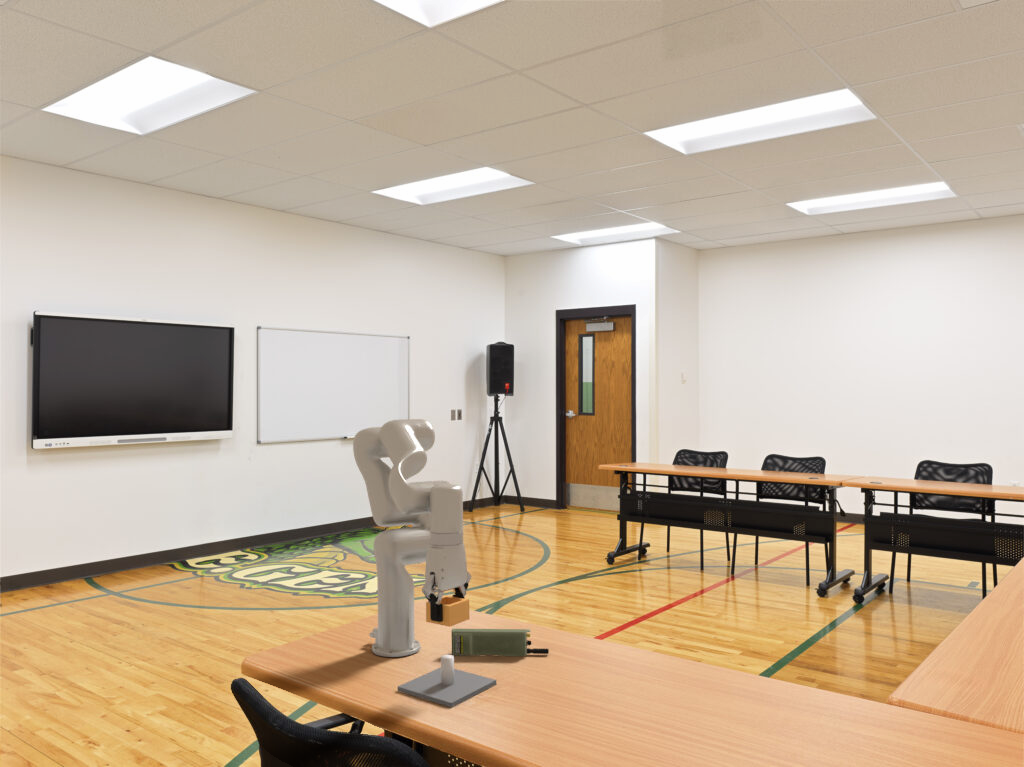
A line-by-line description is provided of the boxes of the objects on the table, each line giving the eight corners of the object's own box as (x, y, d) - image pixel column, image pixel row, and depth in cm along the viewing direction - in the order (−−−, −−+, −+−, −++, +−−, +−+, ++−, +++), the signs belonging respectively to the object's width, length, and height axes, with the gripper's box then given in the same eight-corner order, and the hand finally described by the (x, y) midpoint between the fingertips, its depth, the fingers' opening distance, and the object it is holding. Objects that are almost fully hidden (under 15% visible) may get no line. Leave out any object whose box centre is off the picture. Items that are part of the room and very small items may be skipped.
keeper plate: (397, 691, 176) (397, 660, 176) (443, 669, 189) (443, 641, 189) (451, 707, 167) (451, 675, 167) (496, 684, 180) (496, 654, 180)
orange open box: (426, 621, 177) (426, 601, 177) (446, 614, 182) (446, 595, 183) (449, 626, 173) (449, 606, 173) (469, 619, 178) (469, 599, 178)
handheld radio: (453, 652, 202) (548, 653, 201) (451, 657, 199) (548, 658, 198) (452, 627, 202) (548, 628, 201) (450, 631, 199) (548, 632, 197)
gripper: (458, 531, 187) (459, 605, 187) (408, 543, 173) (409, 623, 173) (483, 534, 183) (484, 610, 182) (433, 546, 169) (434, 629, 168)
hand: (447, 616), depth 178 cm, fingers closed on orange open box, 7 cm apart
